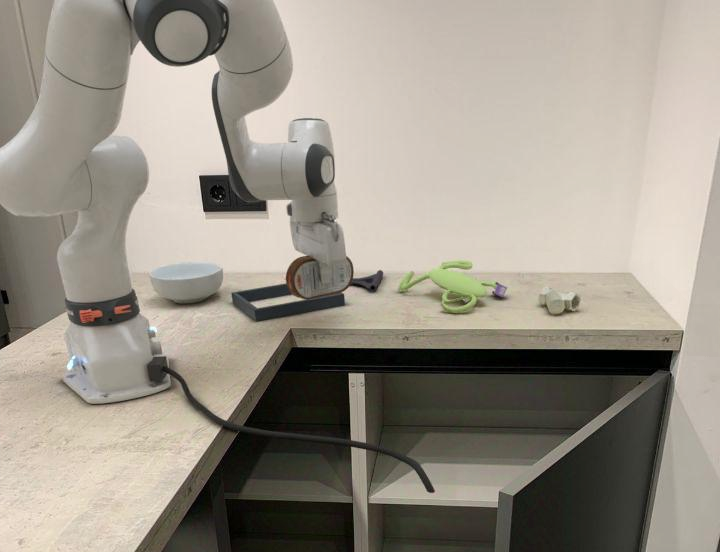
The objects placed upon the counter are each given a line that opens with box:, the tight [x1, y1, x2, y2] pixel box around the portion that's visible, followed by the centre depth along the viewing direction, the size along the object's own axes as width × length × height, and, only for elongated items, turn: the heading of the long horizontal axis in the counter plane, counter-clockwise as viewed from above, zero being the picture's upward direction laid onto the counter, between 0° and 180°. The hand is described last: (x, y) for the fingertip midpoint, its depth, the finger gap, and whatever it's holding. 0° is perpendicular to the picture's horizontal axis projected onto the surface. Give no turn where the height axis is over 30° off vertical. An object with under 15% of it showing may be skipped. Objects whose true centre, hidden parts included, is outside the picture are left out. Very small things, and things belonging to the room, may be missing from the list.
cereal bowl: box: [148, 261, 224, 304], centre depth 173 cm, size 17×17×7 cm
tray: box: [230, 282, 346, 322], centre depth 167 cm, size 17×21×2 cm
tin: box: [285, 255, 355, 300], centre depth 150 cm, size 15×3×8 cm, turn 123°
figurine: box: [397, 260, 508, 314], centre depth 165 cm, size 18×27×6 cm
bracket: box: [350, 269, 384, 293], centre depth 179 cm, size 14×15×3 cm
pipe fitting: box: [538, 286, 582, 315], centre depth 152 cm, size 8×4×7 cm
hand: (320, 280), depth 151 cm, fingers closed on tin, 3 cm apart
